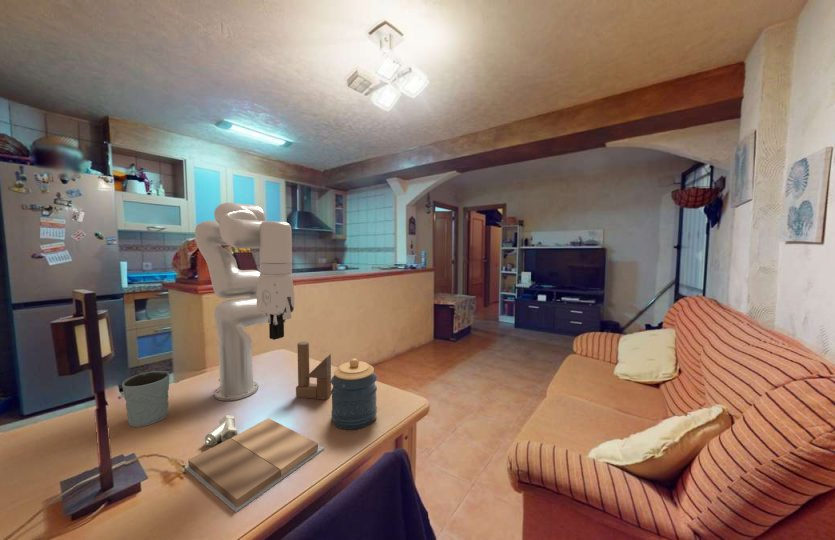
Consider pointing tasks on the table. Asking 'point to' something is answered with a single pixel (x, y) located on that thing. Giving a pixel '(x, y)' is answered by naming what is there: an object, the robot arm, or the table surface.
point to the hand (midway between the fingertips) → (276, 337)
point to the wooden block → (312, 375)
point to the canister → (354, 395)
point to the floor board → (234, 471)
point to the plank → (276, 444)
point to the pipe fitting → (222, 431)
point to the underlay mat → (258, 492)
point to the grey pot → (146, 397)
